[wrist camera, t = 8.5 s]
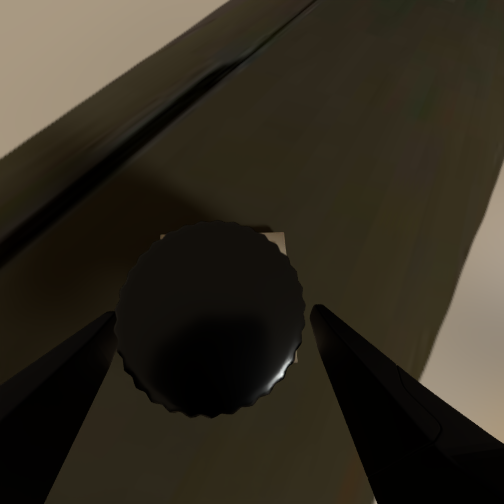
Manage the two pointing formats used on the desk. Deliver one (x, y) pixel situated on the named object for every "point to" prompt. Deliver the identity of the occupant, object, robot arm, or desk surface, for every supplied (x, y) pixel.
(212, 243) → the supplement bottle
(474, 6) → the desk surface
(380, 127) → the desk surface
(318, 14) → the desk surface
